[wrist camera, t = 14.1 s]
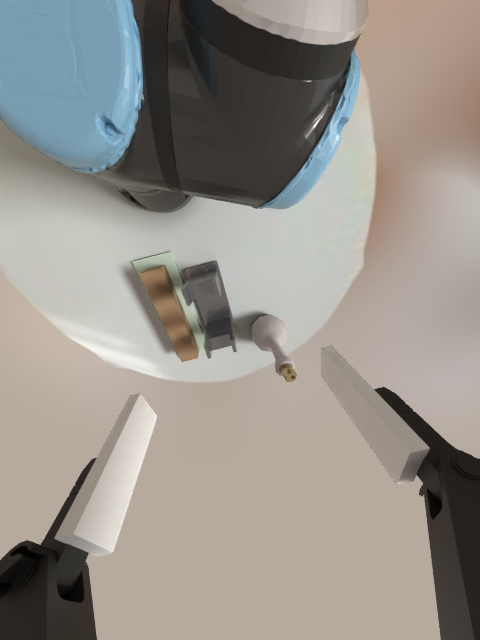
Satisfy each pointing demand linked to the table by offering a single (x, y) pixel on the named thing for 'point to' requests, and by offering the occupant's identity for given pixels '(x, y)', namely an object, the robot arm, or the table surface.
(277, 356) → the potion bottle
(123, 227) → the table surface
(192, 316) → the mat
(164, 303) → the rail
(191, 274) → the rack
